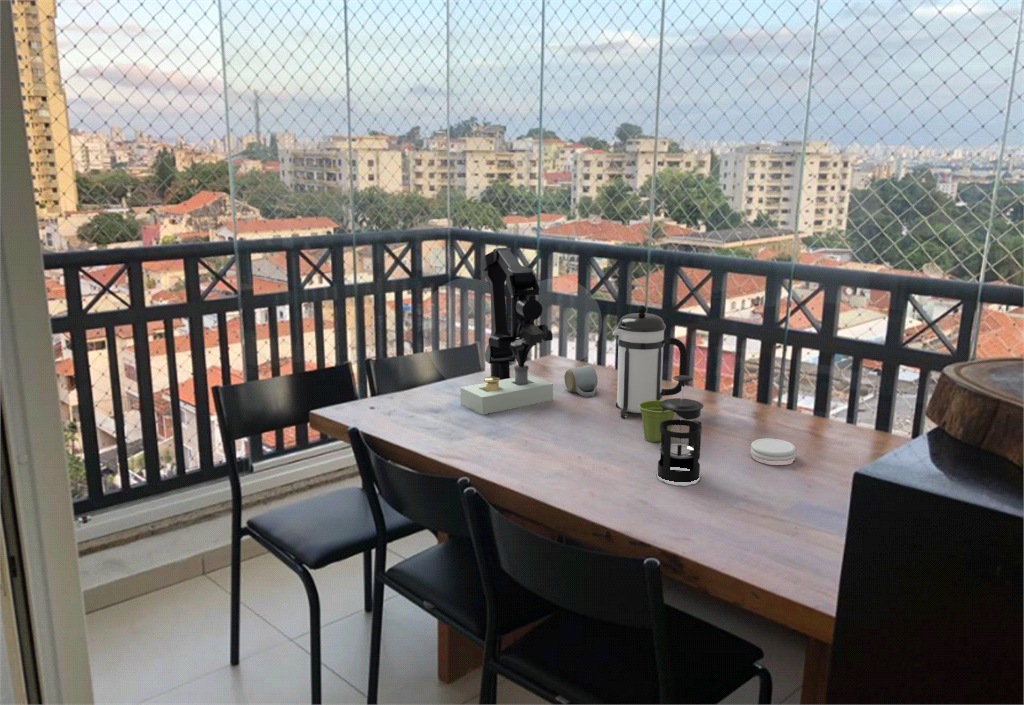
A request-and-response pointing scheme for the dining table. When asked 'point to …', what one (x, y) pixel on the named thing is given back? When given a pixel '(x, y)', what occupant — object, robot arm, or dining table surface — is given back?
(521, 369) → the graphite plug
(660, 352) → the coffee press
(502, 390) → the block
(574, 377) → the ceramic mug
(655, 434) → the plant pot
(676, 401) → the french press
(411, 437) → the dining table surface
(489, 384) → the brass plug
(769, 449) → the coaster
